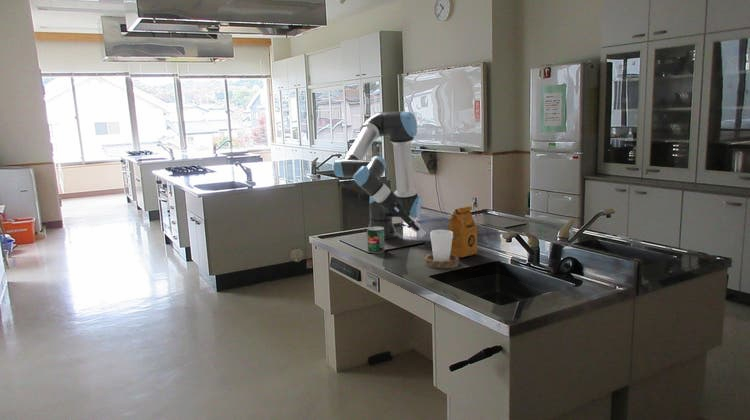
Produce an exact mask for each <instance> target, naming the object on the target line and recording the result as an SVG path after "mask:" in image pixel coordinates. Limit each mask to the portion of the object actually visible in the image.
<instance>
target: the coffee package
mask: <svg viewBox="0 0 750 420" xmlns="http://www.w3.org/2000/svg"><path fill="white" fill-rule="evenodd" d="M472 210H473V207H472V205H469V206H464V207H459V208H455V209H454V211H453V213H452V216H451V218H450V220H449V224H448V230H449V231H452V232H453V238H452V245H451V252H450V254H453V255H456V256H458V257H459V258H466V257H470V256H473V255H476V254H477V252H478V229H477V224H476V222H475V220H474V218H473V214H472V212H471V211H472Z"/></svg>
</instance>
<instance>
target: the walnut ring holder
mask: <svg viewBox="0 0 750 420" xmlns="http://www.w3.org/2000/svg"><path fill="white" fill-rule="evenodd" d="M424 263H425V266H426V267H429V268H432V269H440V270H443V269H446V270H447V269H453V268H456V267H458V266H459V263H460V257H458V256H456V255H453V254H450V260H449V261H443V262H440V261H434V258H433V253H430V254H426V256H424Z"/></svg>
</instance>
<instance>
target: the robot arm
mask: <svg viewBox="0 0 750 420" xmlns="http://www.w3.org/2000/svg"><path fill="white" fill-rule="evenodd" d="M417 129H418V123H417V120H416V117H415V115H414V114H413V113H412V112H410V111H380V112H377V113H374V114H373V115H372V116H370V117H368V118H367V119H366V120H365V121H364V122H363V123H362V125H361V126H360V128H359V133H358V135H357V136H356V138H355V140H354V141H353V143H352V144H351V146H350V148H349V149H348V150H347V152H346V153H345V156H344V157H343V158H340V159H336V160H335V161H334V162H333V169H332V170H333V174H334V175H335V177H339V178H352V179H353V181H354V182H355V183H356V184H357V185H358V187H359V188H361V189H362V190H363V191H364V192H366V193H367V194H368V195H369V202H368V203H369V224H368V227H373V226H380V227H384V240H388V239H389V240H390V239H394V238H396V237H397V232H396V231H397V230H396V228H395V225H394V223H393V218H401V220H402V221H403V222H404V223H405V224H407V225H408V226H407V228H408V229H410V228H411V229H412V230H413V231H414V233H416V234H417V235H418V236H419V237H420V238H423V237H424V236H425V235H426V234H427V232H426V231H425V230H424V229H423V228H422V227H421V224H419V222H417V221H416V220H415V219H416V218H418V217H419V215H420V212H421V208H422V201H423V200H422V196H421V195H419V194H418V190H417V189H415V183H414V171H413V170H414V169H413V158H412V157H413V156H412V142H413V141H414V137H416V136H417V133H418V130H417ZM381 137H388V139H389V142H390V143H391V144H392V148H393V160H394V161H393V162H394V169H395V170H394V174H395V182H396V183H395V185H396V186H395V187H396V190H395V191H394V192H393V191H392V190H391V189H390V188H389V186H387V185H386V184H385V183H384V182H382V181H381V177H382V176H383V174H384V173H385V172H386V169H387V162H386V159H384V158H383V157H382V156H379V155H375V156H373V157H372V158H370V159H364V158H365V157H366V155H367V153H368V152H369V150H370V148H371V147H372V144H373V143H374V141H376V140H378V138H381ZM366 237H367V238H368V233H367V232H366Z"/></svg>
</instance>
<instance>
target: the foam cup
mask: <svg viewBox="0 0 750 420" xmlns="http://www.w3.org/2000/svg"><path fill="white" fill-rule="evenodd" d="M429 235H430V237H429V238H430V242H431V249H432V254H433V258H434V261H440V262H443V261H449V260H450V252H451V245H452V238H453V232H452V231H449V229H448V230H447V229H436V230H435V229H434V230H431V231H430V234H429Z"/></svg>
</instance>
